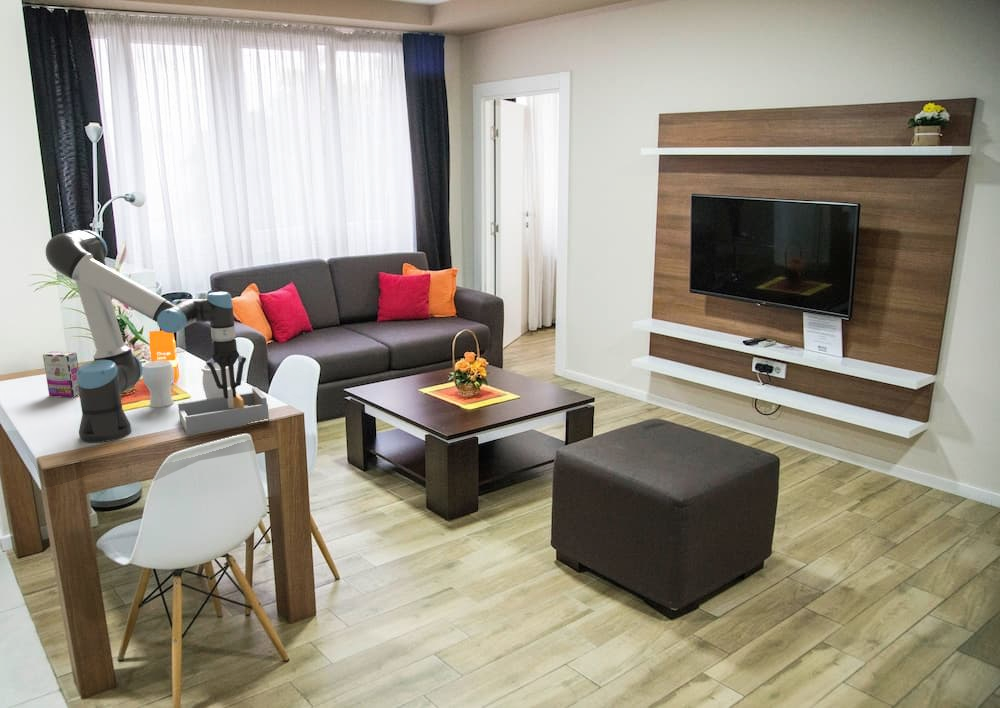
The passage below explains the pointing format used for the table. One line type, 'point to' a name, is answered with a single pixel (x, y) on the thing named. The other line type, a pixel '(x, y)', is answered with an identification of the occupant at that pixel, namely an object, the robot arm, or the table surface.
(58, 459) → the table surface
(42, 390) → the table surface
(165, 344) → the orange juice
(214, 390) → the jar
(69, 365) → the candy bar box
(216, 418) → the gray open tray
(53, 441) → the table surface
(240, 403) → the block
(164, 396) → the cup
